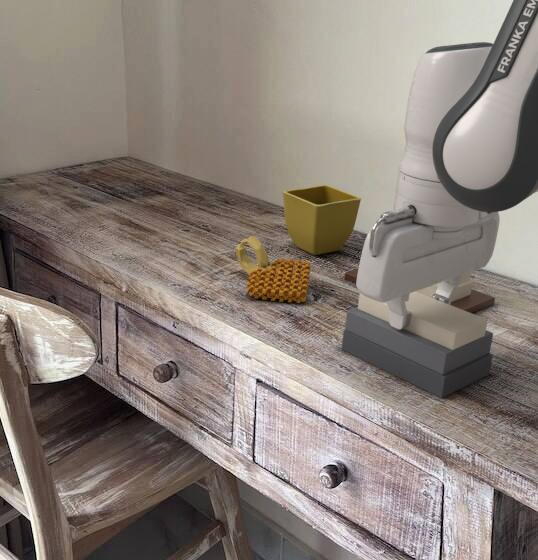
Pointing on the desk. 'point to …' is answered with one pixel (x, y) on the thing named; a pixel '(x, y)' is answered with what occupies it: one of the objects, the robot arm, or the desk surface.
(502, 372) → the desk surface
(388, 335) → the grey stack
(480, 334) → the cream book
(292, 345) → the desk surface
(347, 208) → the flower pot
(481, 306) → the cream stack
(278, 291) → the ornament
